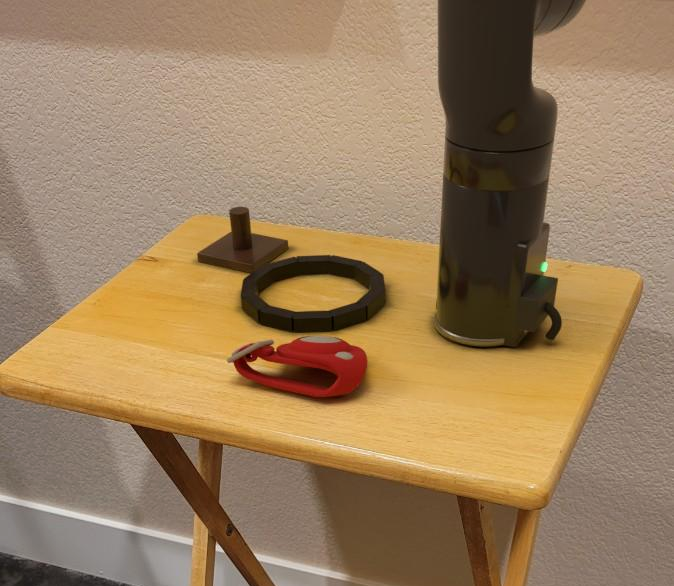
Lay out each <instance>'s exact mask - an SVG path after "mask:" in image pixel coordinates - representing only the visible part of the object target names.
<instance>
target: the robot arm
mask: <svg viewBox="0 0 674 586" xmlns="http://www.w3.org/2000/svg"><path fill="white" fill-rule="evenodd" d="M586 1H587V0H437V87H438V94H439V99H440V102H441V106H442V109H443V114H444V119H445V128H444V148H443V150H444V151H443V169H442V170H443V171H442V190H441V211H440V227H439V248H438V249H439V250H438V265H437V288H436V289H437V290H436V300H435V301H436V302H435V311H436V312H435V314H434V327H435V330H437V332H438V333H439V334H440V335H441V336H443V337H444V338H446V339H448V340H449V341H452V342H455V343H458V344H462V345H465V346H466V345H467V346H472V347H498V346H500V347H501V346H507V347H511V348H516V347H517V346H518V345H519V344H520V343H521V342H522V340H523V339H524V338H525V337H526V336H527V335H528V334H529V333H530V332H531V333H535V332H536V331H537V329H539V327H540V326H541V324H543V322H544V321H545V320H546V318H548V317H549V318H550V320H551V326H550V327H549V329H548V330H547V332H546V334H545V338H546V339H547V340H550V341H554V340H556V338H557V336H558V334H559V333H560V331H561V329H562V326H563V319H562V316H561V314H560V311H559V310H558V309H557V308H556V307H555V304H556V303H555V302H556V295H557V290H558V283H559V278H558V277H554V276H548V275H545V272H546V271H547V269H548V263H547V261H546V260H547V252H548V245H549V237H550V231H551V225H550V223H548V222H544V221H545V213H546V207H547V199H548V191H549V182H550V177H551V168H552V160H553V152H554V145H555V136H556V129H557V121H558V111H559V107H558V102H557V100H556V98H555V97H554V95H553V94H551V93H550V92H549V91H547V90H545V89H543V88H540V87H537V86H534V82H533V58H534V57H533V55H534V39H536V38H539V37H542V36H545V35H550V34H552V33H555V32H557V31H559V30H561V29H563V28H564V27H566V26H567V25H569V24H570V23H571V22H572V21H573V20H575V18H576V17H577V16H578V15H579V14H580V12H581V10H582V9H583V7H584V5H585V3H586Z"/></svg>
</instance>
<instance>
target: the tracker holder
mask: <svg viewBox="0 0 674 586" xmlns="http://www.w3.org/2000/svg"><path fill="white" fill-rule="evenodd" d="M274 343H275V341H274V339H266V340H260V341H257V342H251V343H247V344H244V345H241V346H240V347H238V348H237V349H235V350H234V351H233V352H232V353H231V356H229V357H228V358H226V362H227V364H231V363H233V366H234V368H235V370H236V372H237V373H238V374H239V375H241V376H242V377H243V378H245V379H248V380H250V381H252V382H254V383H258V384H260V385H262V386H266V387H270V388H274V389H278V390H283V391H288V392H291V393H292V392H293V393H297V394H301V395H304V396H309V397H315V398H327V397H328V398H329V397H338V396H345V395H348V394H350V393H352V392H354V390H355V389H356V388H358V387H359V385H360V383H361V382H362V380H363V378H364V376H365V374H366V372H367V368H368V356H367V353H366V351H365V350H364V349H363V348H362V347H360V346H357V345H353V344H350V343H349V342H348V341H346V340H344V339H342V338H339V337H335V336H326V335H307V336H301V337H297V338H296V339H293V340H292V341H291V342H288V343H287V342H286V343H281V344H280V345H278V346H277V347H276V349H275V347H274V346H273V345H274ZM258 358H259V359H261V360H262V361H265V362H269V363H273V364H279V365H280V364H282V365H287V366H297V367H304V368H305V367H306V368H314V369H321V370H324V371H327V372H330V373H331V374H334V375H335V376H336V377H337V379H336V380H335V382H334V383H333V384H332V385H331V386H330V387H327V386H326V387H325V386H322V385H321V386H320V385H316V384H311V383H307V382H302V381H297V380H293V379H288V378H283V377H279V376H273V375H268V374H266V373H263V372H261V371H258V370H256V369H254V368H253V367H252V366H251V365H249V363H253V362H255V361H257V360H258Z"/></svg>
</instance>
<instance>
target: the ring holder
mask: <svg viewBox="0 0 674 586" xmlns="http://www.w3.org/2000/svg"><path fill="white" fill-rule="evenodd" d="M228 214H229V215H228V216H229V222H230V232H227V234H225V235H223V236H222V237H220V238H218V239H217V240H215V241H214V242H212V243H211V244H209V245H207V246H206V247H204V248H202V249H201V250H200V251H198V252H197V253H196V256H197V261H198V262H200V263H204V264H208V265H213V266H217V267H222V268H226V269H231V270H234V271H235V270H236V271H240V272H245V273H249V274H251V273H252V272H254V271H255V270H257V269H258V268H260V267H261V266H262V265H265V264H269V263H271V261H273V260H274V259H275V258H277V257H279V256H280V255H282V254H283V253H285V252H286V251H287V250H288V249H289V240H288V239H285V238H284V239H283V238H279V237H274V236H269V235H263V234H260V233H259V234H258V233H253V232H252V226H251V216H250V209H249V207H246V206H235V207H232V208H230V209H229V210H228Z"/></svg>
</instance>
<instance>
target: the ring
mask: <svg viewBox="0 0 674 586" xmlns="http://www.w3.org/2000/svg"><path fill="white" fill-rule="evenodd" d="M328 274H329V275H334V276H338V277H343V278H348V279H352V280H355V281H356V282H358V283H359V284H360V285H362V286H363V287H365V288H366V289H368V290H369V291H367V292H366V293H365V294H363V295H362V296H361V297H360V298H359V299H357V301H356V302H352V303H349V304H345V305H342V306H338V307H335V308H331V309H328V310H304V311H303V310H302V311H295V310H292V309H287V308H282V307H279V306H274V305H270V304H269V303H267V302H266V301H265V300H263V298H261V297H260V296H259V294H260V293H261V292H262V291H264V290H266V289H267V288H268V287H269V286H271V285H272V284H273V283H275V282H278V281H281V280H285V279H289V278H292V277H296V276H299V275H300V276H301V275H302V276H303V275H328ZM240 301H241V302H240V303H241V309H242V311H244V312H245V313H246V314H247V315H248V316H249V317H250V318H252V319H253V320H254V321H255V322H256V323H258V325H262V326H265V327H268V328H269V327H270V328H274V329H278V330H282V331H286V332H290V333H293V332H294V333H314V332H315V333H317V332H319V333H321V332H334V331H338V330H341V329H344V328H347V327H351V326H354V325H358V324H360V323H363V322H366V321H369V320H370V319H371V318H372V317H374V315H375V314H376V313H378V311H380V310H381V309H382V308H383V307H384V306H385V305H386V284H385V275H384V273H382V272H381V271H379V270H378V269H376V268H374V267H373V266H371V264H368V263H367V262H365V261H363V260H359V259H355V258H350V257H344V256H339V255H335V254H332V255H331V254H321V255H319V254H315V255H296V256H291V257H287V258H283V259H280V260H276V261H273V262H269V263H267V264H265V265H262V266H261V267H260V268H258V269H257V270H255V271H254V272H252V273H249V274H248V275H246V276H245V277H244V278H243V279H242V284H241V290H240Z"/></svg>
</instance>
